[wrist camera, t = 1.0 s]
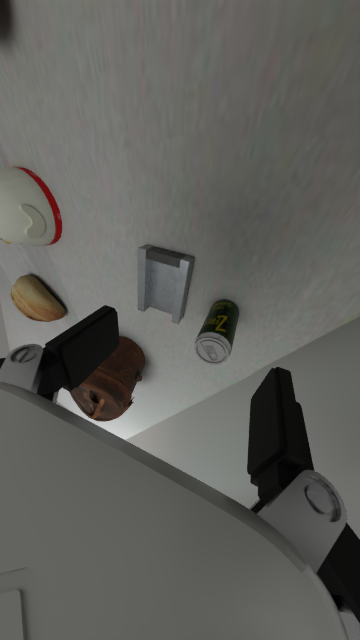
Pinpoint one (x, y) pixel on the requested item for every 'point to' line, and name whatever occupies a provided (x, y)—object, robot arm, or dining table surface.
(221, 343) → the beer can
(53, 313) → the bread roll
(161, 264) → the grey tray
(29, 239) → the kitchen timer
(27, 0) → the dining table surface
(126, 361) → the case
